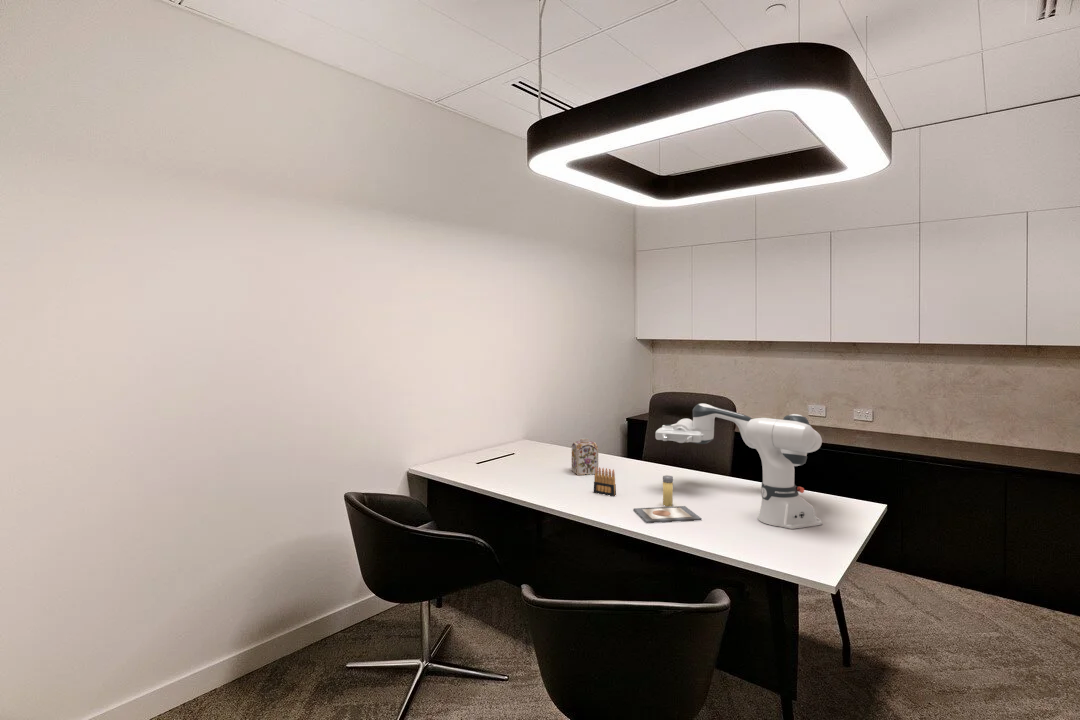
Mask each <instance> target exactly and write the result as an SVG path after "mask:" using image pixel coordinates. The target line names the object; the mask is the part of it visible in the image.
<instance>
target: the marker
mask: <svg viewBox="0 0 1080 720" xmlns="http://www.w3.org/2000/svg"><path fill="white" fill-rule="evenodd" d="M673 484H674V476H673V475H667V474H666V475H662V505H663V506H664V505H665V506H664V507H673V506H674V502H673V501H674V500H673V499H674V498H673V496H674V495H673V492H674V489H673V487H674V485H673ZM672 505H673V506H672Z"/></svg>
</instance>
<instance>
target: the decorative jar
mask: <svg viewBox="0 0 1080 720" xmlns="http://www.w3.org/2000/svg"><path fill="white" fill-rule="evenodd" d="M596 467H597V470H598V471H599V447H598V445H597V443H596V442H595V441H592V440H590V438H587V437H581V438H579V440H578V441H577V440H576V441H573V443H572V445H571V471H572V472H573V473H576V474H577V475H576V474H575V475H576V476H586V475H585V474H595V468H596Z"/></svg>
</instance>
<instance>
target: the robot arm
mask: <svg viewBox="0 0 1080 720" xmlns="http://www.w3.org/2000/svg"><path fill="white" fill-rule="evenodd" d="M715 418H718V419H723V420H727V421H730V422H733V423H734V424H735V425H736V426H737V428H738V430H739V433H740V436H741V438H742V440H743V442H744V443H745V445H746V446H748V447H749V449H750V448H751V449H755V450H756V451H757V452H758V454H759V457H760V460H761V466H762V482H761V491H760V492H761V502H760V503H761V505H760V509H759V513H758V517H757V519H758V521H759V522H761V523H764V524H766V525H770V526H775V527H781V528H785V529H789V530H795V529H801V528H802V529H803V528H808V527H815V526H822V525H823V522H822V519H820V518H819V517H817V516H816V513H815V508H814V506H813V505H812V504H811V503H809V502H808V501H807V500H806V499H804V498H803V496H801V495H800V494H799V493H801V494H803V493H805V488H804V487H802V486H797V485H796V484H795V467H798V466H803V465H804V464H806V462H807V459H808V456H807V455H808V454H809V453H813V452H816V451H818V450H819V449H820V448H821V446H822V443H823V439H822V436H821V434H820V433H819V432H818V431H816V430H815V429H814V428H813V427H812V425H811V424H810V421H809V420H808V418H807V417H806V416H803V415H802V414H797V413H792V414H788V415H785V416H783V418H782V419H780V418H779V419H778V418H769V417H758V418H755V417H754V418H752V417H750V416H748V415H746V414H743V413H740V412H735V411H732V410H728V409H724V408H720V407H716V406H713V405H711V404H707V403H698V404H696V405H695V406H694V407H693V409H692V419H690V418H685V417H684V418H682V419H679V420H678V421H677V422H676V423H673V424H663V425H662V426H661V427H659V428H658V429H657V430H656V431H655V436H654V437H655V439H656V440H657V441H663V442H667V441H671V442H672V441H673V442H676V443H679V444H683V443H693V444H697V445H706V444H708V443H710V442H712V441H713V440H714V436H715Z"/></svg>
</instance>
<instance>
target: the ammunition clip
mask: <svg viewBox="0 0 1080 720" xmlns="http://www.w3.org/2000/svg"><path fill="white" fill-rule="evenodd" d="M616 485H617V484H616V474H615V469H614V468H613V469H612V471H611V468H608V467H605V468H604V467H602V468H601V467H600V466H598V470H597V467H596V468H595V475H594V481H593V494H598V493H599V495H603V494H605V495H604V496H608V495H610V496H609V497H616V496H617V486H616ZM615 495H616V496H615Z"/></svg>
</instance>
